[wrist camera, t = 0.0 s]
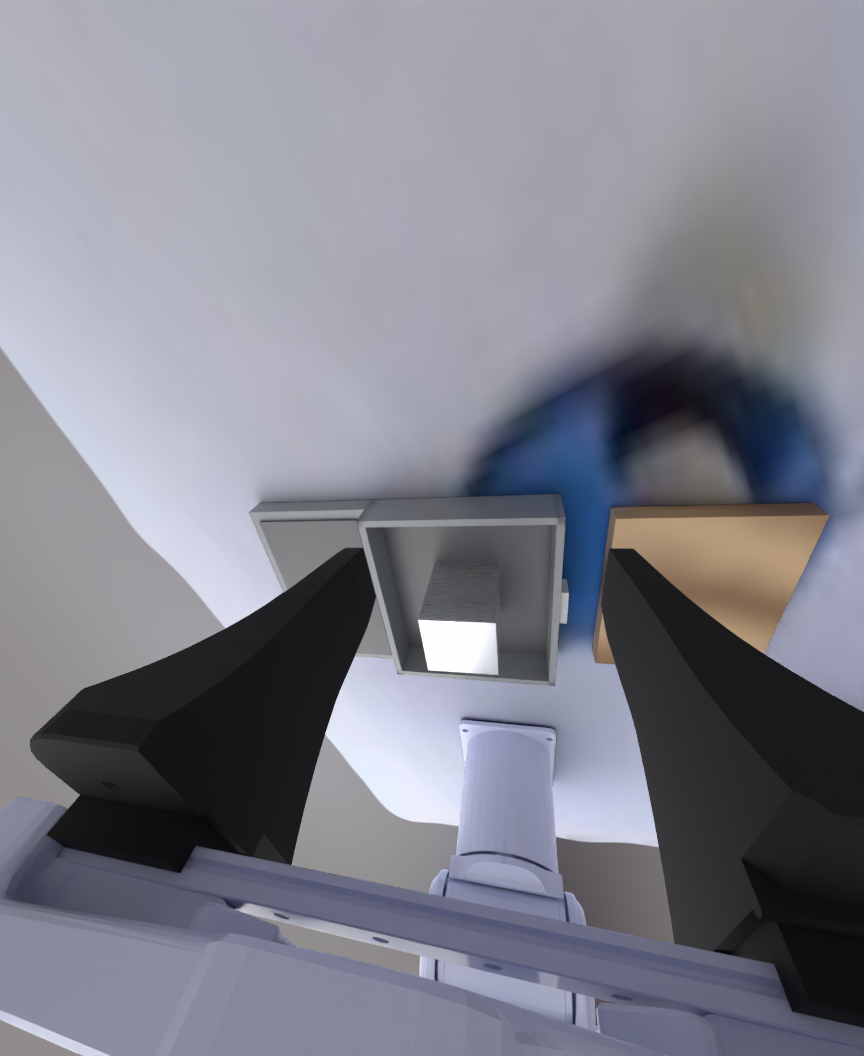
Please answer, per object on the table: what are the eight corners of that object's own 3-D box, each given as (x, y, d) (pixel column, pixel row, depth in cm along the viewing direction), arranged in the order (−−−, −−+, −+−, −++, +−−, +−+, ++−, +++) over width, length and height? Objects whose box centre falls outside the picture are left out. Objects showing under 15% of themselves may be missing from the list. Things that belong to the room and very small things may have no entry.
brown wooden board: (744, 656, 24) (754, 672, 23) (592, 648, 26) (595, 662, 25) (812, 502, 18) (830, 515, 17) (610, 507, 20) (616, 518, 19)
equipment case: (559, 655, 27) (563, 686, 25) (316, 641, 31) (302, 667, 29) (570, 493, 20) (576, 517, 18) (259, 503, 24) (236, 523, 22)
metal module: (501, 610, 25) (498, 675, 21) (439, 608, 26) (425, 669, 22) (498, 562, 23) (495, 623, 19) (432, 562, 24) (415, 619, 20)
